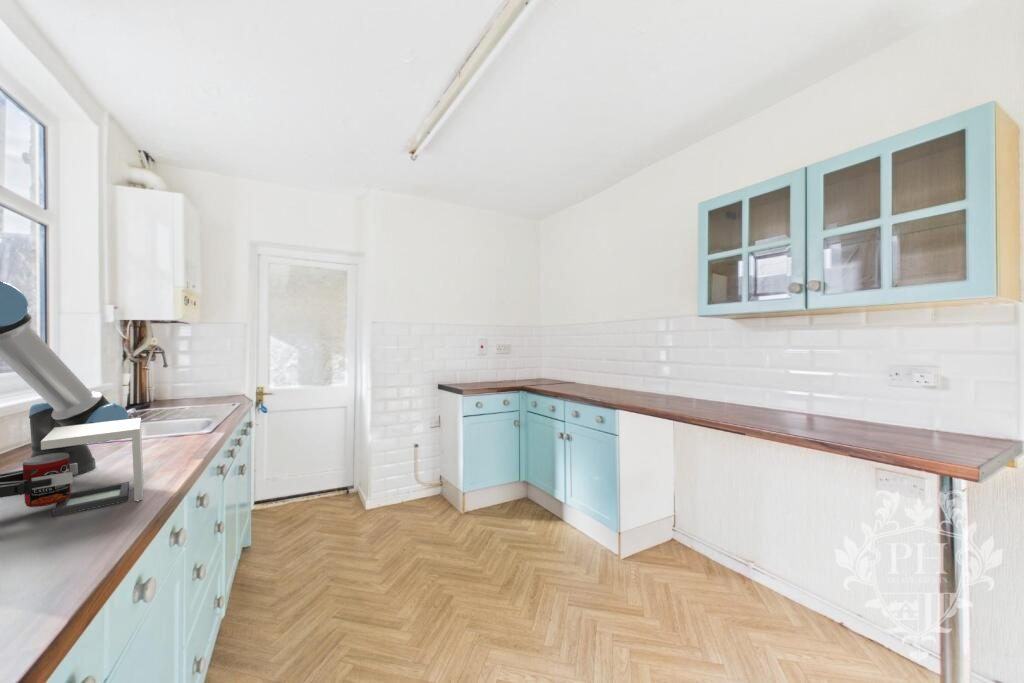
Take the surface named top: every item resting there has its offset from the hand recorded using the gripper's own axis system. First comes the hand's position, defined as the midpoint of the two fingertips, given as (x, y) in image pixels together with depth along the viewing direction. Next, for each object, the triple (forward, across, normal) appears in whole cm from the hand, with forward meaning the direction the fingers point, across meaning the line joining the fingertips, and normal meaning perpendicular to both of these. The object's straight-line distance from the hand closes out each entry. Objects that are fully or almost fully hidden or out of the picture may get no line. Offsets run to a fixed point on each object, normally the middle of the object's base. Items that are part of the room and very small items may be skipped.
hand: (74, 472), depth 104 cm
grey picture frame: (+3, -1, -8) cm, 9 cm away
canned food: (-5, 0, -6) cm, 8 cm away
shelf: (+3, -1, -8) cm, 9 cm away
